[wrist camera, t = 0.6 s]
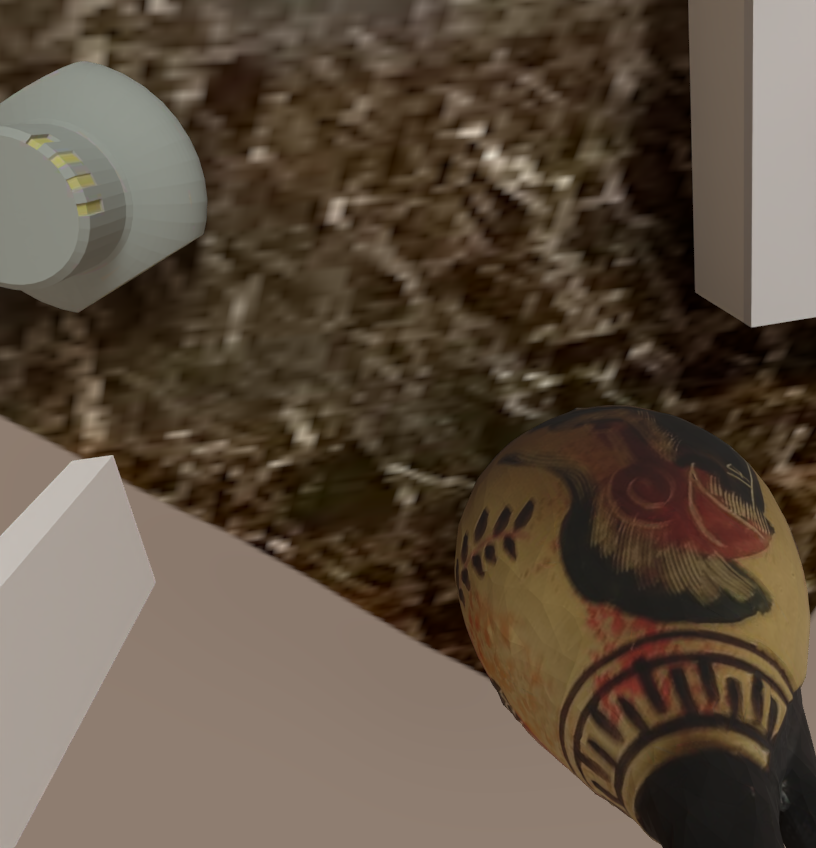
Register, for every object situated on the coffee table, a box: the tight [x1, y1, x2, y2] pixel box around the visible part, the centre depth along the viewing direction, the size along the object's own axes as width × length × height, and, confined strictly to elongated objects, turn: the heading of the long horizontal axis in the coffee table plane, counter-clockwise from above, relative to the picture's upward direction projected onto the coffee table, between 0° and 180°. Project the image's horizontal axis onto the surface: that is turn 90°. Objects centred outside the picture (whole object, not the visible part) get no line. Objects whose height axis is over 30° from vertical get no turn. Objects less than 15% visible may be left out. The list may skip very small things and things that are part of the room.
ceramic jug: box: [454, 405, 816, 848], centre depth 29 cm, size 17×15×30 cm
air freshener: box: [0, 61, 207, 313], centre depth 32 cm, size 11×8×10 cm
